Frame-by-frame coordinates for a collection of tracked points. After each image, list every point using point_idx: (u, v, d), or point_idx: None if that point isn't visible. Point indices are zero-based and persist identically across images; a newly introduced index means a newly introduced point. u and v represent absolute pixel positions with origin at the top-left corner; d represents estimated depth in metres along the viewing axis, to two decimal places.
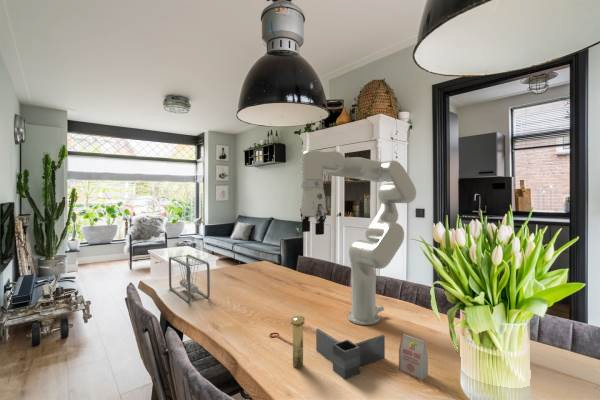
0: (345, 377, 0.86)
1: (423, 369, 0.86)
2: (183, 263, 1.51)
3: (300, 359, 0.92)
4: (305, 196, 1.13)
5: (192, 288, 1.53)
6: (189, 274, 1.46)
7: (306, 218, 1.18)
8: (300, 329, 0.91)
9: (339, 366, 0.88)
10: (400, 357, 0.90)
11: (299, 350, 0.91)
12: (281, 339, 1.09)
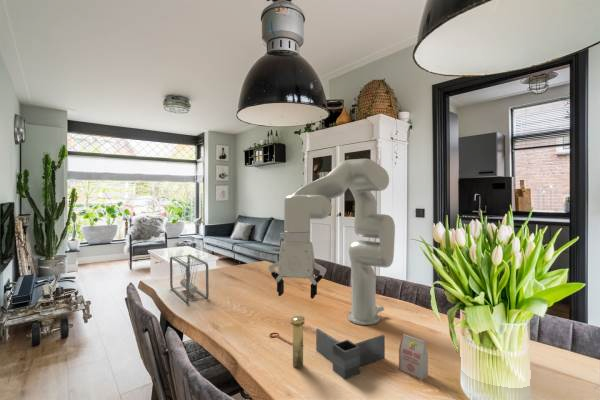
0: (345, 377, 0.86)
1: (423, 370, 0.86)
2: (182, 263, 1.51)
3: (300, 359, 0.92)
4: None
5: (191, 288, 1.53)
6: (187, 274, 1.46)
7: None
8: (300, 329, 0.91)
9: (339, 366, 0.88)
10: (400, 357, 0.90)
11: (299, 350, 0.91)
12: (281, 339, 1.09)
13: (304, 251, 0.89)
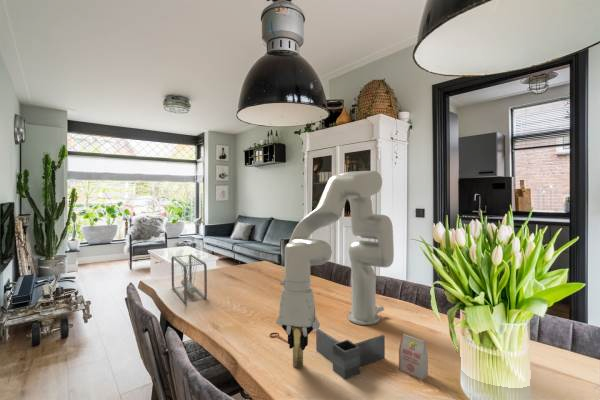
0: (345, 377, 0.86)
1: (423, 370, 0.86)
2: (181, 263, 1.51)
3: (300, 359, 0.92)
4: None
5: (190, 288, 1.53)
6: (185, 274, 1.46)
7: None
8: (300, 329, 0.91)
9: (339, 366, 0.88)
10: (400, 357, 0.90)
11: (299, 350, 0.91)
12: (281, 339, 1.09)
13: (305, 300, 0.89)
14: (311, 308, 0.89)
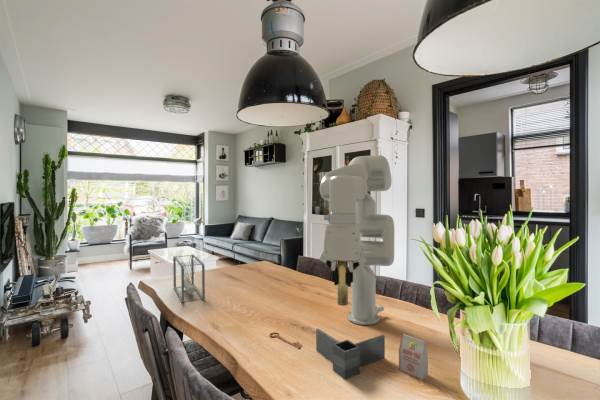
0: (345, 377, 0.86)
1: (423, 370, 0.86)
2: (179, 263, 1.51)
3: (346, 296, 0.88)
4: None
5: (188, 288, 1.52)
6: (182, 274, 1.45)
7: None
8: (345, 265, 0.88)
9: (339, 366, 0.88)
10: (400, 357, 0.90)
11: (345, 287, 0.88)
12: (281, 339, 1.09)
13: (351, 233, 0.86)
14: (358, 241, 0.86)
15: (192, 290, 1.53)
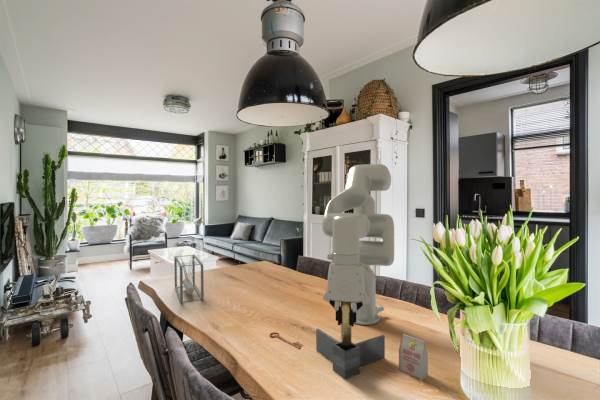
0: (345, 377, 0.86)
1: (423, 370, 0.86)
2: (178, 263, 1.51)
3: (349, 336, 0.88)
4: None
5: (187, 289, 1.52)
6: (181, 275, 1.45)
7: None
8: (349, 305, 0.88)
9: (339, 366, 0.88)
10: (400, 357, 0.90)
11: (348, 327, 0.88)
12: (281, 339, 1.09)
13: (355, 274, 0.86)
14: (362, 282, 0.86)
15: (191, 290, 1.52)
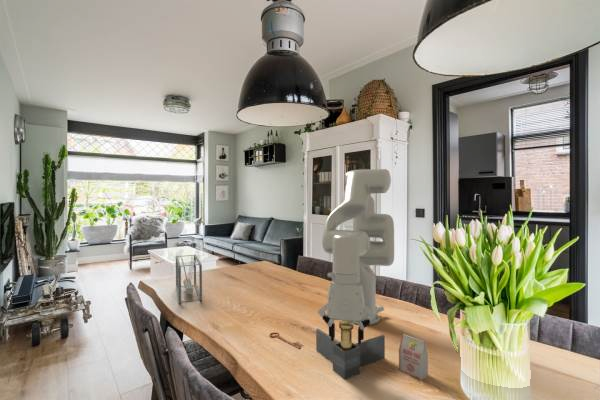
0: (345, 377, 0.86)
1: (423, 370, 0.86)
2: (177, 263, 1.51)
3: None
4: None
5: (186, 289, 1.52)
6: (179, 275, 1.45)
7: None
8: (349, 334, 0.88)
9: (339, 366, 0.88)
10: (400, 357, 0.90)
11: None
12: (281, 339, 1.09)
13: (355, 293, 0.86)
14: (362, 301, 0.86)
15: (190, 290, 1.52)
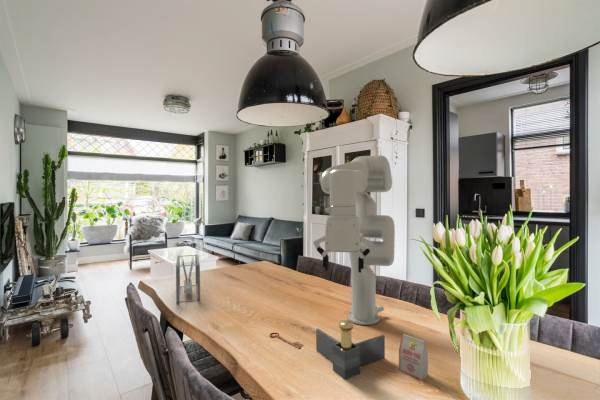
0: (345, 377, 0.86)
1: (423, 370, 0.86)
2: (176, 263, 1.51)
3: None
4: None
5: (185, 289, 1.52)
6: (177, 275, 1.45)
7: None
8: (349, 334, 0.88)
9: (339, 366, 0.88)
10: (400, 357, 0.90)
11: None
12: (281, 339, 1.09)
13: (352, 225, 0.88)
14: (358, 233, 0.88)
15: (189, 290, 1.52)
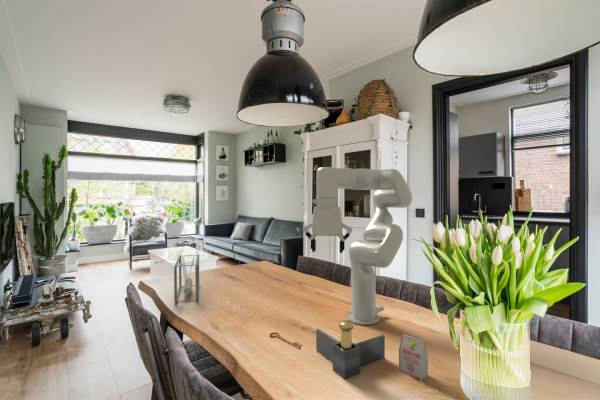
0: (345, 377, 0.86)
1: (423, 370, 0.86)
2: None
3: None
4: None
5: (184, 289, 1.52)
6: (175, 275, 1.45)
7: None
8: (349, 334, 0.88)
9: (339, 366, 0.88)
10: (400, 357, 0.90)
11: None
12: (281, 339, 1.09)
13: (334, 213, 1.07)
14: (339, 219, 1.07)
15: (187, 291, 1.52)
